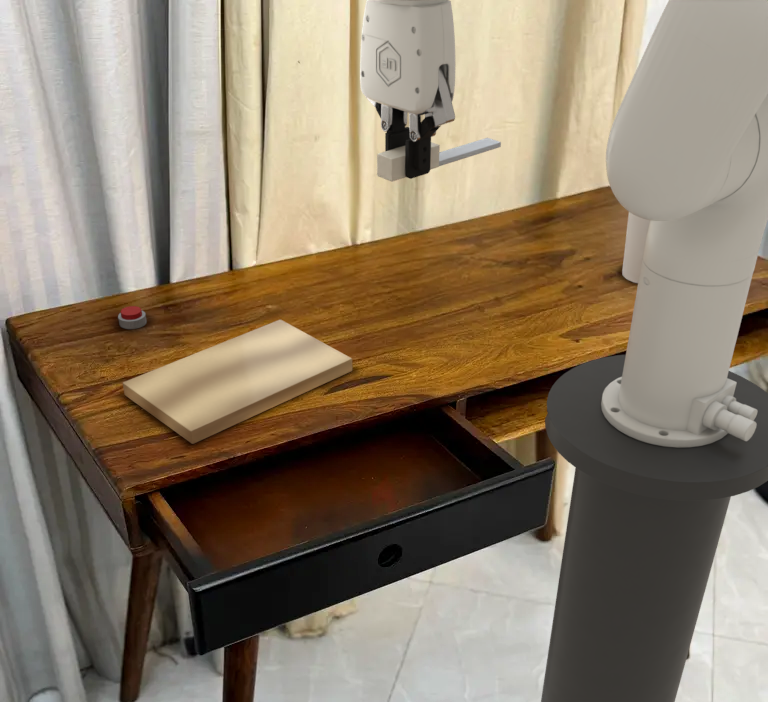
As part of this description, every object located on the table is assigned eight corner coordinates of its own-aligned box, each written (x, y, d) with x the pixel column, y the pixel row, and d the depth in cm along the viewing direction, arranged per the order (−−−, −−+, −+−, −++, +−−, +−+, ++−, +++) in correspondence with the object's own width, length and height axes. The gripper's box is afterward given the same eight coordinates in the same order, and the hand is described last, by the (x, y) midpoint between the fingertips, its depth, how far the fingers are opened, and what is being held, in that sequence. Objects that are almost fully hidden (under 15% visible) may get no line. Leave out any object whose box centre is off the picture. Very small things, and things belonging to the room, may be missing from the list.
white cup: (669, 290, 118) (685, 208, 112) (613, 281, 120) (626, 200, 113) (676, 267, 123) (692, 188, 116) (623, 260, 124) (635, 181, 118)
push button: (141, 330, 110) (139, 317, 109) (115, 327, 110) (113, 315, 109) (150, 317, 112) (148, 305, 111) (125, 315, 112) (123, 303, 112)
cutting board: (352, 371, 103) (352, 358, 102) (192, 444, 92) (190, 431, 91) (281, 331, 110) (280, 319, 109) (124, 395, 99) (122, 382, 98)
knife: (391, 182, 104) (391, 159, 103) (376, 176, 106) (376, 153, 104) (501, 147, 113) (503, 125, 112) (486, 142, 115) (487, 121, 113)
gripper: (327, -25, 98) (334, 160, 110) (440, -1, 89) (434, 200, 100) (384, -34, 102) (384, 146, 114) (497, -12, 93) (485, 183, 104)
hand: (407, 170), depth 107 cm, fingers closed on knife, 2 cm apart
